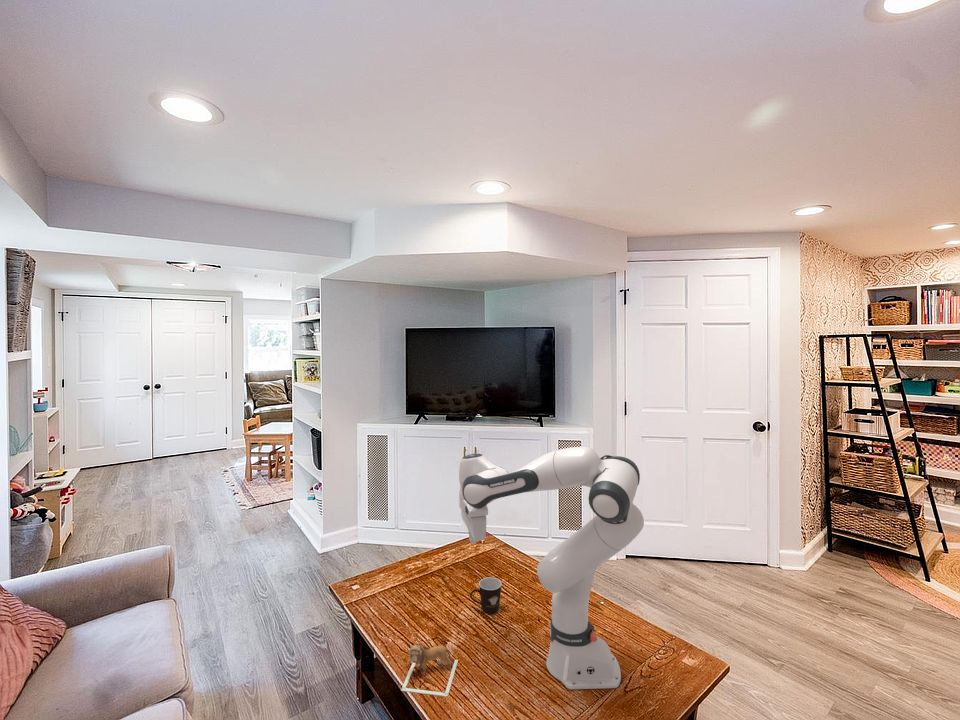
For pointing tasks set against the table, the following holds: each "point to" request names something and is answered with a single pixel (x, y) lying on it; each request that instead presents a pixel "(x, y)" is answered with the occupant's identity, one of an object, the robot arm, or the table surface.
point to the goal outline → (425, 690)
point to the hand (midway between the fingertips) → (472, 541)
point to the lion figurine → (429, 655)
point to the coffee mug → (489, 594)
